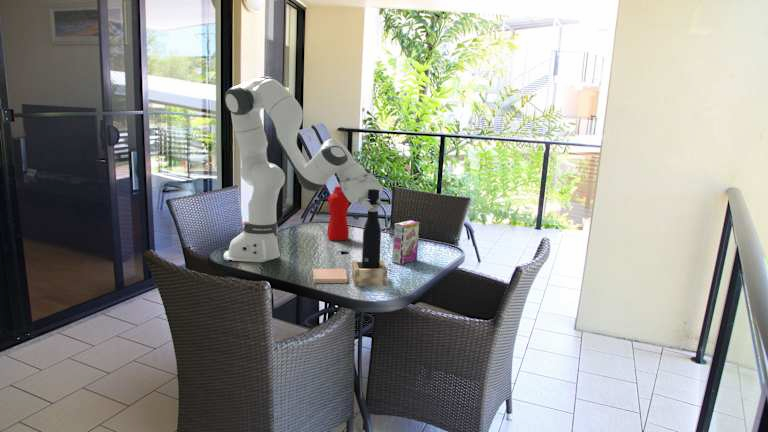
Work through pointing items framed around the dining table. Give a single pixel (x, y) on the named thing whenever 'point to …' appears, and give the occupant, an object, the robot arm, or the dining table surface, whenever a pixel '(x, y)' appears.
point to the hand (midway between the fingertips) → (376, 207)
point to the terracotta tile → (329, 276)
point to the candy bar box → (405, 242)
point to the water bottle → (338, 215)
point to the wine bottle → (372, 235)
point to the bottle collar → (369, 275)
